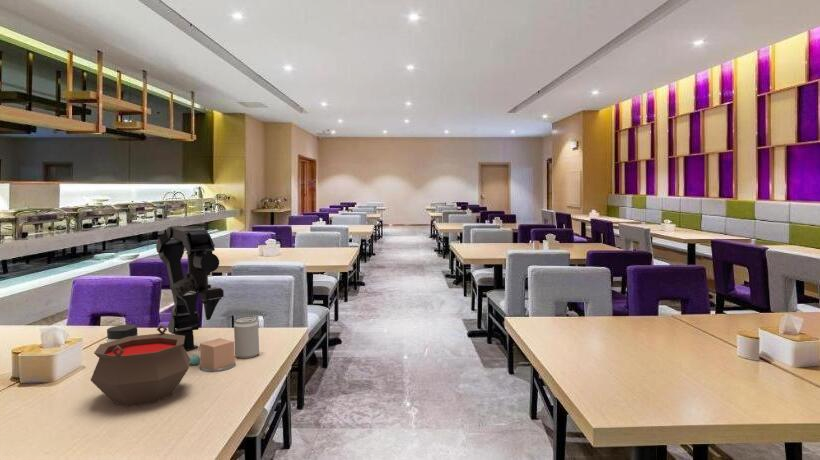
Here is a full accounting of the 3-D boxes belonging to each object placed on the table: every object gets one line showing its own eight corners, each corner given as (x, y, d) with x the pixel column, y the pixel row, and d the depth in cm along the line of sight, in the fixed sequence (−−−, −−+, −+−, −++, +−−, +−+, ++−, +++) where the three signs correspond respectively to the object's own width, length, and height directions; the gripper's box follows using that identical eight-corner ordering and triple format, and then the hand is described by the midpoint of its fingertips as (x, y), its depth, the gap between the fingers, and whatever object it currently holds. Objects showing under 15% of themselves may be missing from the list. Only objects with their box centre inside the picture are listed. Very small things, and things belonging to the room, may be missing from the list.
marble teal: (188, 364, 163) (187, 355, 163) (196, 362, 166) (196, 352, 166) (193, 366, 162) (193, 356, 161) (202, 364, 164) (202, 354, 164)
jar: (137, 368, 161) (135, 329, 160) (106, 372, 158) (104, 332, 157) (140, 360, 169) (139, 323, 168) (111, 363, 166) (109, 325, 165)
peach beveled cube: (200, 366, 161) (199, 343, 160) (221, 360, 166) (220, 338, 166) (214, 370, 156) (213, 346, 156) (234, 364, 162) (233, 341, 162)
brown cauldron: (125, 380, 151) (122, 323, 150) (208, 379, 150) (206, 322, 149) (68, 414, 127) (64, 347, 126) (167, 414, 126) (164, 346, 125)
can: (252, 359, 168) (250, 322, 167) (230, 358, 169) (229, 321, 168) (263, 352, 175) (262, 316, 174) (242, 351, 177) (241, 316, 176)
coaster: (193, 368, 160) (193, 366, 160) (222, 359, 168) (222, 358, 168) (213, 374, 154) (213, 372, 154) (242, 364, 162) (242, 363, 162)
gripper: (157, 270, 167) (159, 319, 168) (190, 274, 156) (192, 327, 157) (190, 266, 176) (192, 313, 177) (223, 270, 165) (225, 319, 166)
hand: (199, 318), depth 169 cm, fingers open, 9 cm apart
